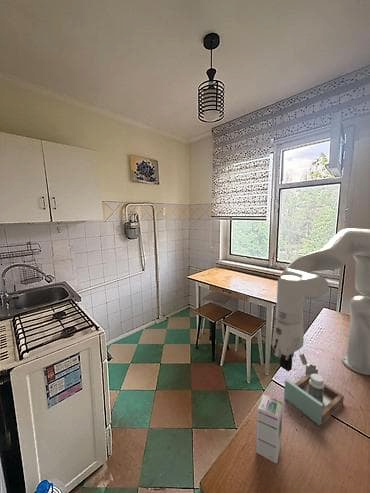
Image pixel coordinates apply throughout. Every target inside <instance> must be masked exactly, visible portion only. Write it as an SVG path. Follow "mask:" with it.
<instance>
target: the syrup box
mask: <svg viewBox="0 0 370 493" xmlns="http://www.w3.org/2000/svg"><path fill="white" fill-rule="evenodd" d="M283 404H284V403H283V402H282V401H280V400H278V399H276V398H275V397H274V398H273V397H271V396H269V395H266V394H262V395H261V397H260V401H259V403H258V406H257V416H256V443H255V444H256V445H255V446H256V448H255V449H256V454H258V455H260V456H262V457H263V458H265V459H266V460H269V461H270V462H272V463H275V464H278V461H279V458H280V452H281V447H282V429H283V427H282V426H283V408H284V407H283Z"/></svg>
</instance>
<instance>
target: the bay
mask: <svg viewBox="0 0 370 493" xmlns="http://www.w3.org/2000/svg"><path fill="white" fill-rule="evenodd" d="M310 377H311V375H309V374H308V375H306V374H305V375H304V377H302V378H301V379H299V380H298V381H296V382H295V383H294V384H295V385H297V386H298V387H299V388H301V389H302V390H304V391H305V392H306V393H308V387H309V380H310ZM323 384H324V394H323V402H322V404H323V413H322V423H321V425H323V424H324V422H326V420H328V419H329V418H330V417H331V416H332V415H333V414H334V413H335V412H336V411H337V410H338V409H339V408H340V407H341V406H342V405H344V398H345V396H344V394H342V393H340V392H339V391H336V390H335V389H334V388H332V387H330V386H329V385H327V384H325V383H323Z"/></svg>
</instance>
